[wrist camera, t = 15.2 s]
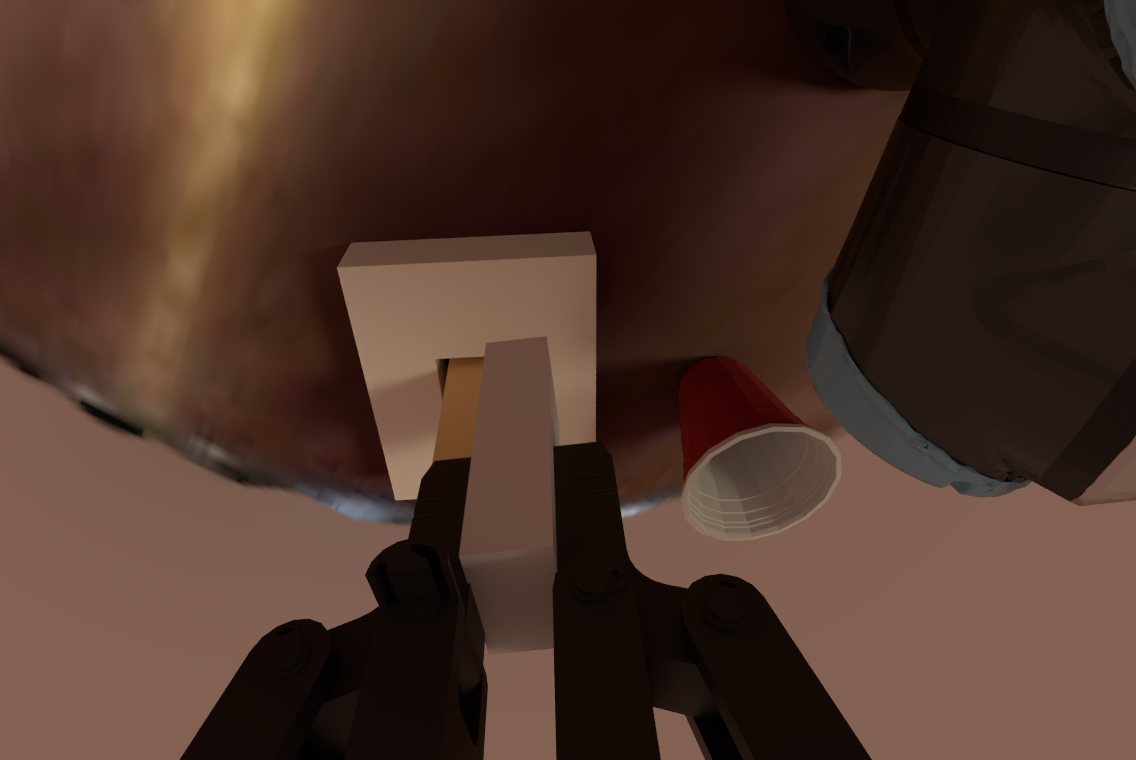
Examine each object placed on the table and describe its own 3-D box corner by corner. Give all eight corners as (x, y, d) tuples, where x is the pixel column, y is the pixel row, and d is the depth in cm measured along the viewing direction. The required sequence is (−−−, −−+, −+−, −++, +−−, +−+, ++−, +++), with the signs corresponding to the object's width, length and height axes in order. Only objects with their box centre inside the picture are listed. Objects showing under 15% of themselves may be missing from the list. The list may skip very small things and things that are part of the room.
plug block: (513, 333, 46) (513, 472, 34) (518, 383, 49) (518, 528, 36) (453, 337, 46) (429, 477, 34) (460, 386, 49) (441, 534, 36)
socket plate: (590, 231, 42) (596, 254, 39) (590, 454, 53) (595, 487, 50) (351, 242, 41) (336, 267, 38) (403, 466, 53) (395, 500, 49)
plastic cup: (708, 457, 55) (751, 569, 45) (621, 395, 50) (646, 504, 40) (808, 378, 50) (879, 481, 41) (722, 302, 46) (779, 398, 36)
